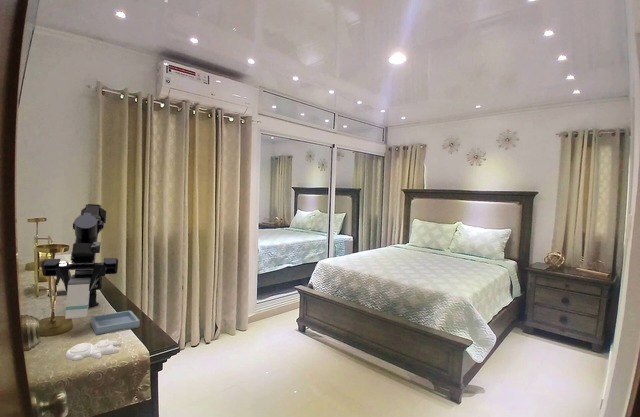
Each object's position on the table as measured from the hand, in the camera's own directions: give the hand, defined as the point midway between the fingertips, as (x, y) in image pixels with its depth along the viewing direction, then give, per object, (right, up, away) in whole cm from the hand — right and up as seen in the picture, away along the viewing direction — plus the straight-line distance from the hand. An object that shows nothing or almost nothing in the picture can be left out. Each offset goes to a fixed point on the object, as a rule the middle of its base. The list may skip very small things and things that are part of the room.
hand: (78, 290), depth 93 cm
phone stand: (-35, -11, +37) cm, 52 cm away
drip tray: (+4, -14, +10) cm, 17 cm away
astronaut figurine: (+11, -15, -8) cm, 20 cm away
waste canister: (-1, -8, +1) cm, 8 cm away
